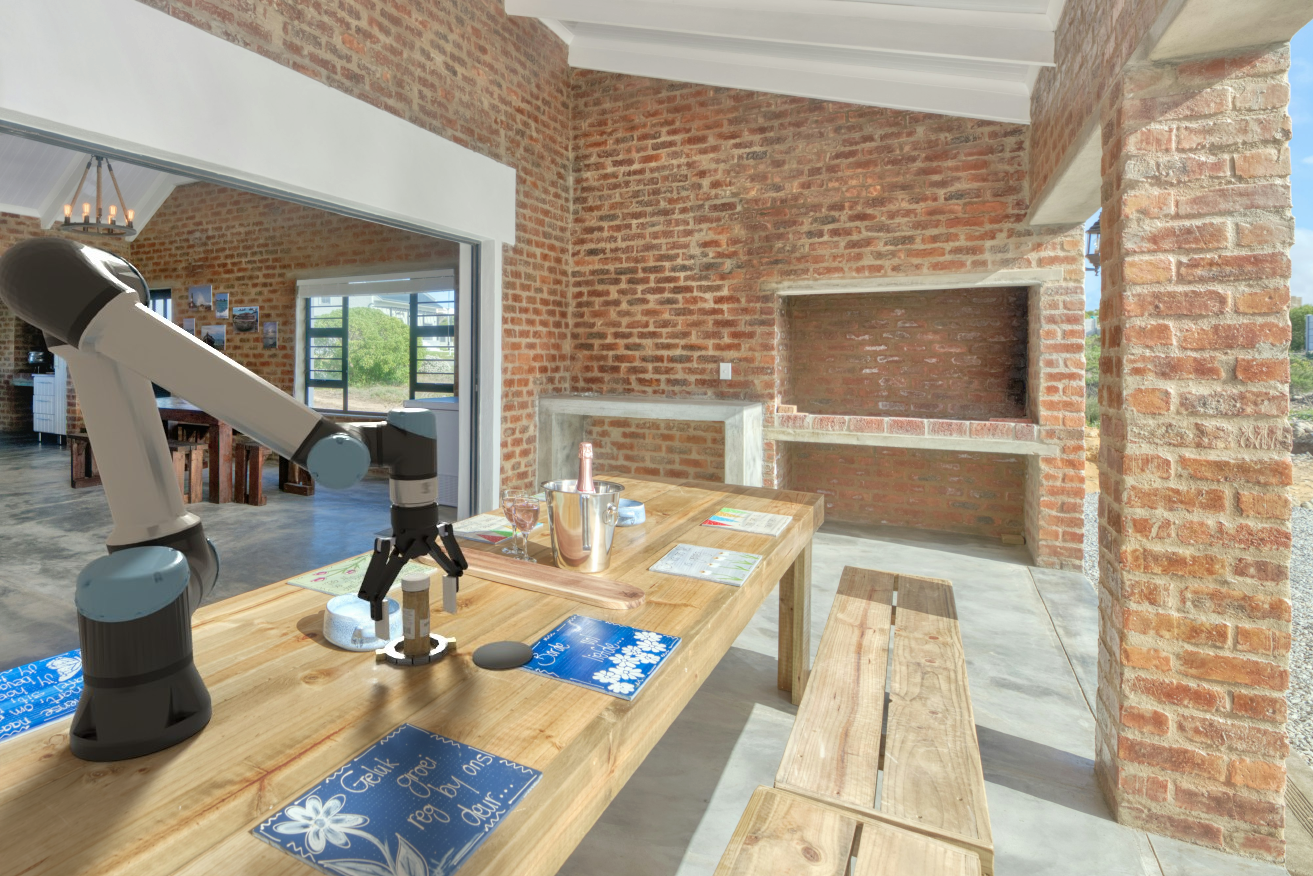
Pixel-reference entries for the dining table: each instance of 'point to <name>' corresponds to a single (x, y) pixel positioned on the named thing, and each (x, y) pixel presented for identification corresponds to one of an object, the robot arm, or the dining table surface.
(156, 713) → the robot arm
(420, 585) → the sprinkles bottle
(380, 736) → the dining table surface
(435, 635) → the collar
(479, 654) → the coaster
